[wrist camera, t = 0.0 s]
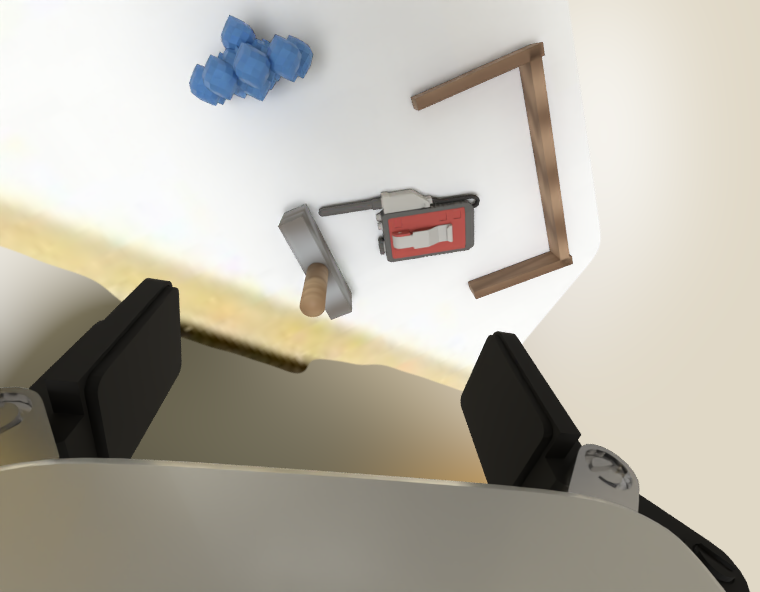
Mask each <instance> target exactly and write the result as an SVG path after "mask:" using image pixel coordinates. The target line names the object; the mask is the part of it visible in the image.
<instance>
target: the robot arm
mask: <svg viewBox="0 0 760 592" xmlns="http://www.w3.org/2000/svg"><path fill="white" fill-rule="evenodd" d="M180 369H181V335H180V309H179V290H178V288H176V287H172V283H171V282H170V281H164V280H158V279H151V278H146V279H145V280H144V281H143V282H142V283H141V284H140V285H139V286H138V287H137V288H136V289H135V290H134V291H133V292H132V293H131V294H130V295H129V296H128V297H127V298H126V299H125V300H123V301H122V302H121V303H120V304H119V305H118V306H117V307H116V308H115V309H114V310H113V311H112V312H111V314H109V316H107V317H106V318H105V320H102V321H99V322H97V323H96V324H95V325H94V326H93V327H92V328H91V329H90V330H89V331H87V333H85V334H84V336H82V337H81V338H80V339H79V340H78V341H77V342H76V343H75V344H74V345H73V346H72V347H71V348H70V349H69V350H68V351H67V352H66V353H65V354H64V355H63V356H62V357H61V358H60V359H59V360H58V361H57V362H56V363H55V364H54V365H52V367H50V369H48V370H47V371H46V372H45V373H44V374H43V375H42V376H41V377H40V378H39V379H38V380H37V381H36V382H35V383H34V384H33V385H32V386H31V387H30V388H29V389H27V388H21V387H4V388H0V592H750V591H749V588H748V585H747V582H746V580H745V579H744V577H743V575H742V573H741V571H740V570H739V569H738V568H737V566H736V565H735V564H734V563H733V561H732V560H731V559H730V558H729V557H728V556H727V555H726V554H725V553H724V552H723V551H722V550H721V549H719V548H718V547H716V546H715V545H714V544H712V543H711V542H709V541H708V540H707V539H705V538H704V537H702V536H701V535H699V534H698V533H696V532H694V531H693V530H692V529H690V528H689V527H687V526H686V525H684V524H683V523H681V522H680V521H678V520H677V519H675V518H674V517H672V516H671V515H669V514H668V513H666V512H665V511H663V510H662V509H661V508H659V507H658V506H656V505H655V504H653V503H652V502H650V501H648V500H647V499H646V498H644V497H643V496H641V495H640V494H639V483H638V479H637V477H636V475H635V474H634V472H633V471H632V469H631V468H630V467H629V465H628V464H627V463H626V462H624V461H623V460H622V459H621V458H620V457H619V456H617V455H616V454H614V453H613V452H612V451H610V450H608V449H606V448H604V447H601V446H598V445H594V444H586V445H583V446H581V444H580V442H579V441H578V439H579V437H580V436H581V434H580V432H579V430H578V429H577V427H576V426H575V425H574V423H573V421H572V420H571V418H570V417H569V415H568V414H567V412H566V411H565V409H564V408H563V406H562V405H561V403H560V402H559V400H558V399H557V397H556V396H555V394H554V392H553V391H552V390H551V388H550V386H549V385H548V383H547V382H546V380H545V379H544V377H543V376H542V375H541V373H540V371H539V370H538V368H537V367H536V365H535V364H534V362H533V361H532V359H531V358H530V356H529V355H528V353H527V351H526V350H525V349H524V347H523V345H522V344H521V342H520V341H519V339H518V338H517V336H516V335H515V334H512V333H505V332H499V331H497V332H495V333H494V334H493V335H489V336H488V338H487V340H486V342H485V344H484V346H483V349H482V351H481V353H480V355H479V357H478V360H477V362H476V364H475V366H474V369H473V371H472V373H471V375H470V378H469V380H468V382H467V384H466V386H465V389H464V391H463V393H462V396H461V407H462V410H463V413H464V416H465V419H466V422H467V425H468V428H469V430H470V433H471V436H472V438H473V442H474V445H475V448H476V451H477V453H478V457H479V459H480V462H481V465H482V468H483V471H484V474H485V477H486V480H487V482H488V484H482V483H470V482H458V481H446V480H433V479H420V478H408V477H395V476H381V475H368V474H355V473H340V472H327V471H314V470H300V469H286V468H271V467H257V466H242V465H227V464H213V463H198V462H179V461H162V460H143V459H131V457H132V455H133V453H134V452H135V450H136V448H137V446H138V445H139V443H140V441H141V439H142V438H143V436H144V434H145V432H146V430H147V429H148V427H149V425H150V424H151V422H152V420H153V418H154V417H155V415H156V413H157V411H158V409H159V408H160V406H161V404H162V403H163V401H164V399H165V397H166V396H167V394H168V392H169V390H170V388H171V386H172V385H173V383H174V381H175V380H176V378H177V376H178V374H179V372H180Z"/></svg>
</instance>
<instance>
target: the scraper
mask: <svg viewBox="0 0 760 592" xmlns="http://www.w3.org/2000/svg"><path fill="white" fill-rule="evenodd" d="M278 227H279V229H280V230H281V232H282V234H283V236H284V238H285V239H286V241H287V243H288V245H289V246H290V248H291V250H292V252H293V253H294V255H295V257H296V259H297V260H298V262H299V264H300V266H301V268H302V269H303V271H304V273H305V275H306V278H305V282H304V287H303V292H302V297H301V301H300V309H301V311H302V313H303V314H305V315H307V316H309V317H317V316H319V315H321V314H322V313H323V312H324V310H326V312H327V313H328V315H329V317H330V319H331V320H332V319H335V318H337V317H340V316H342V315H345V314H348V313H350V312H352V293H351V291H350V289H349V288H348V286H347V284H346V282H345V280H344V278H343V276H342V274H341V272H340V270H339V268H338V266H337V264H336V262H335V260H334V258H333V256H332V254H331V252H330V250H329V248H328V246H327V244H326V242H325V240H324V238H323V236H322V234H321V232H320V230H319V228H318V226H317V224H316V222H315V220H314V219H313V217H312V215H311V213H310V211H309V209H308V207H307V205H306V204H305V205H302V206H300V207H298V208H295V209H293V210H290V211H288V212H286V213H284V215H283V217H282V219H281V221H280V224H279V226H278Z"/></svg>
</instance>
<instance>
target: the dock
mask: <svg viewBox="0 0 760 592" xmlns="http://www.w3.org/2000/svg"><path fill="white" fill-rule="evenodd" d="M544 55H545V54H544V46H543V42H540V43H535V44H530V45H528V46H525V47H523V48H521V49H519V50H516V51H514V52H512V53H510V54H507V55H505V56H503V57H501V58H498V59H496V60H494V61H492V62H489V63H487V64H485V65H483V66H480V67H478V68H476V69H474V70H471V71H469V72H467V73H465V74H462V75H460V76H458V77H456V78H453V79H451V80H449V81H447V82H444V83H442V84H440V85H438V86H436V87H433V88H431V89H429V90H427V91H424V92H422V93H420V94H418V95H415V96H413V97H411V100H412V103H413V106H414V109H416V110H418V111H419V110H421V109H424V108H426V107H428V106H431V105H433V104H435V103H437V102H440V101H442V100H444V99H446V98H449V97H451V96H453V95H456V94H458V93H460V92H462V91H465V90H467V89H469V88H471V87H474V86H476V85H478V84H481V83H483V82H485V81H487V80H490V79H492V78H494V77H496V76H499V75H501V74H503V73H506V72H508V71H510V70H512V69H515V68H517V67H519V69H520V75H521V81H522V87H523V93H524V99H525V105H526V111H527V117H528V123H529V129H530V135H531V140H532V146H533V152H534V158H535V164H536V170H537V176H538V182H539V188H540V194H541V200H542V206H543V212H544V218H545V224H546V230H547V236H548V242H549V248H550V252H547V253H544V254H542V255H539V256H536V257H533V258H531V259H528V260H525V261H523V262H520V263H517V264H515V265H512V266H509V267H507V268H504V269H501V270H499V271H496V272H493V273H491V274H488V275H485V276H483V277H480V278H477V279H475V280H472V281H469V282H468V284H469V287H470V290H471V291H472V293H473V295H474V296H475V298H476V299H478V298H481V297H483V296H486V295H489V294H492V293H494V292H497V291H500V290H502V289H505V288H508V287H511V286H513V285H516V284H519V283H522V282H524V281H527V280H530V279H532V278H535V277H538V276H541V275H543V274H546V273H549V272H552V271H554V270H557V269H560V268H563V267H565V266H568V265H571V264H573V261H572V256H571V255H570V254H569V249H568V242H567V234H566V227H565V220H564V213H563V206H562V199H561V191H560V184H559V177H558V170H557V163H556V155H555V148H554V141H553V134H552V127H551V119H550V112H549V105H548V98H547V91H546V83H545V76H544V69H543V62H542V56H544Z"/></svg>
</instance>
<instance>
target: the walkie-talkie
mask: <svg viewBox="0 0 760 592" xmlns="http://www.w3.org/2000/svg"><path fill="white" fill-rule="evenodd" d="M466 199H476V201H475V203H474V204H472V205H471V204H470V203H469V202H468V201H467V200H466ZM479 201H480V200H479V198H478V197H477V196H476V195H465V196H459V197H452V198H446V199H437V198H432V197H431V196H426V197H425V196H423V195H421V194H419V193H417V192H416V191H414V190H412V189H410V190H403V191H396V192H390V193H388V192H382V193H381V198H377V199H372V200H371V201H365V202H358V203H352V204H346V205H339V206H333V207H327V208H321V209H320V210H319V215H320V216H322V217H323V216H330V215H336V214H343V213H349V212H356V211H362V210H369V209H373V210H376V209H383V210H382V211H381V212H380V213H379V214H378V215H376V217H377V221H381V223H378V229H379V230H380V229H382V230H383V236H384V240H383V239H382V238H380V239H378V241H379V248H380V254H381V255H382V254H384V253H385V252H386V256H387V260H388V261H390V262H396V261H402V260H409V259H415V258H421V257H424V256H427V257H428V256H432V255H437V254H439V255H440V254H445V253H450V252H451V253H453V252H457V251H465V250H469V249H470V248H471V247H473V246H474V208H475V207H477V206H478V205H479Z"/></svg>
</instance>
